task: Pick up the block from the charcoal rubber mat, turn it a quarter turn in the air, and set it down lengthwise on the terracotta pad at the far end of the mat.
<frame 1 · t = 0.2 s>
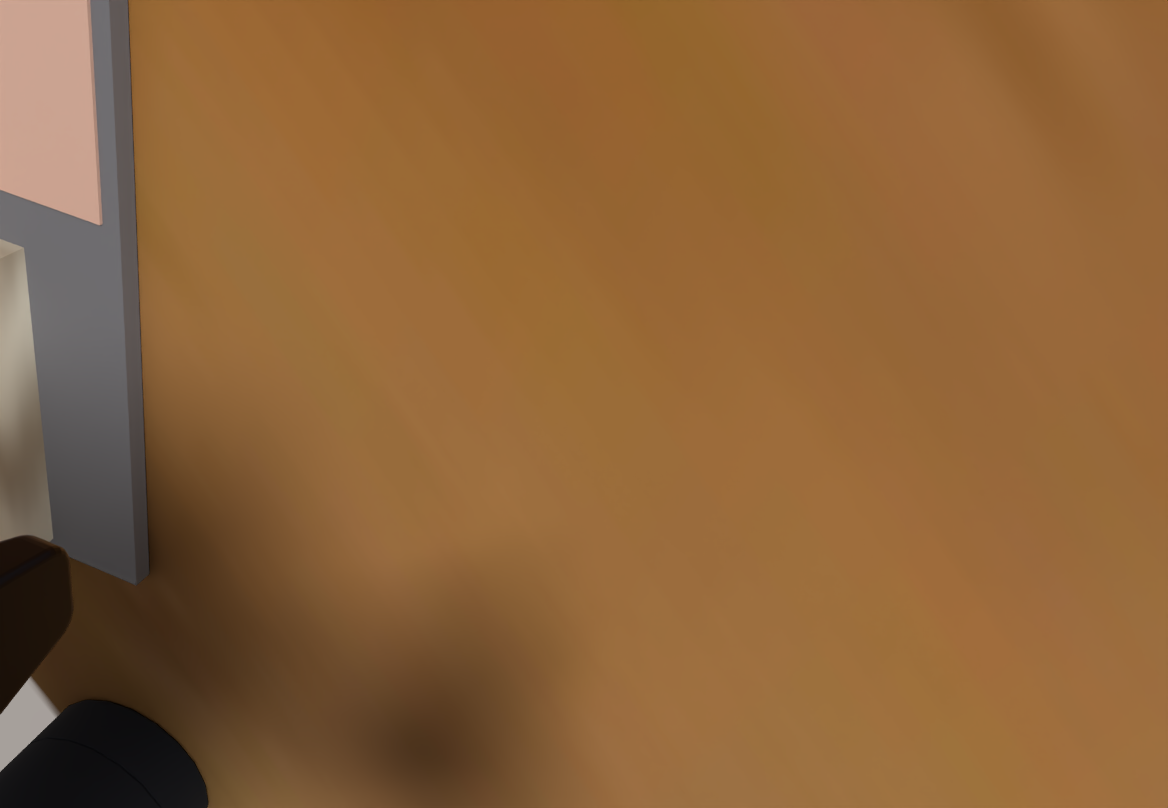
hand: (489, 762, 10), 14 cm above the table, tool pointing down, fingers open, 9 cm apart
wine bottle: (137, 762, 39), on the table
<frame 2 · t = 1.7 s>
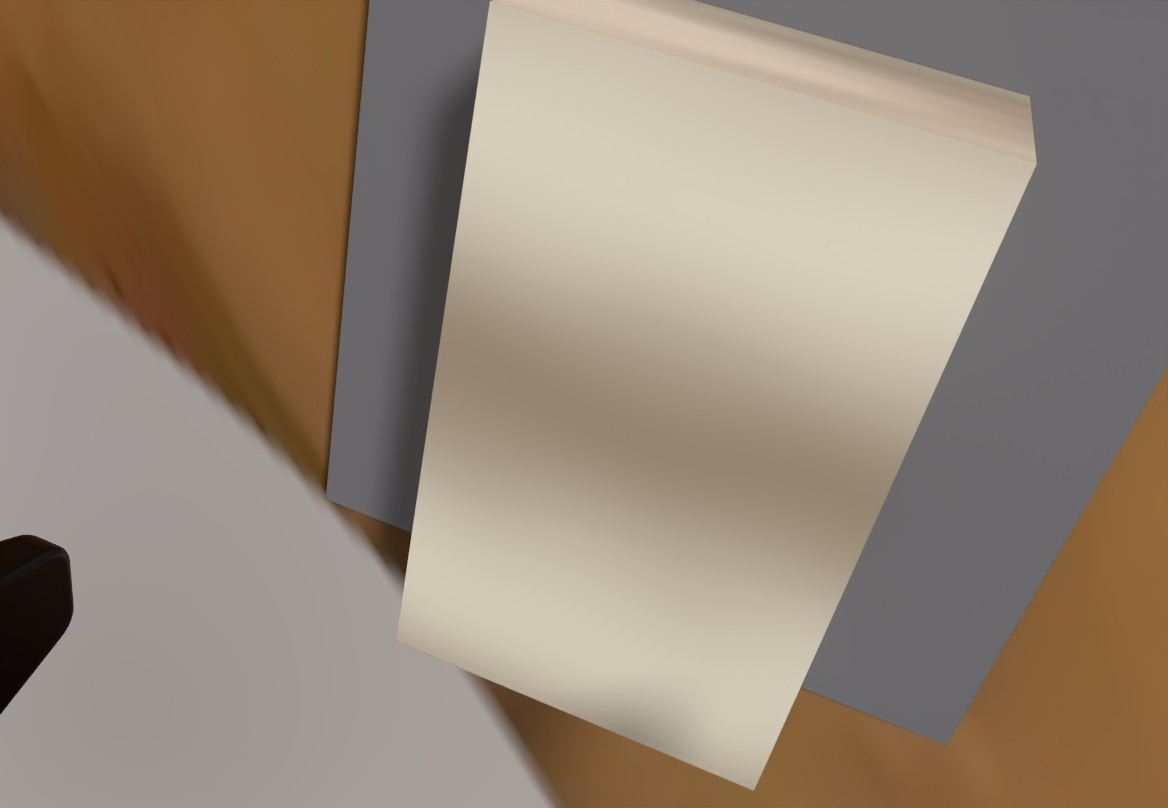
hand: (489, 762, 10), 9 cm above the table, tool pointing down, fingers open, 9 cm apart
mat: (802, 21, 14), on the table
block: (696, 358, 16), point 1 cm above the table, touching mat
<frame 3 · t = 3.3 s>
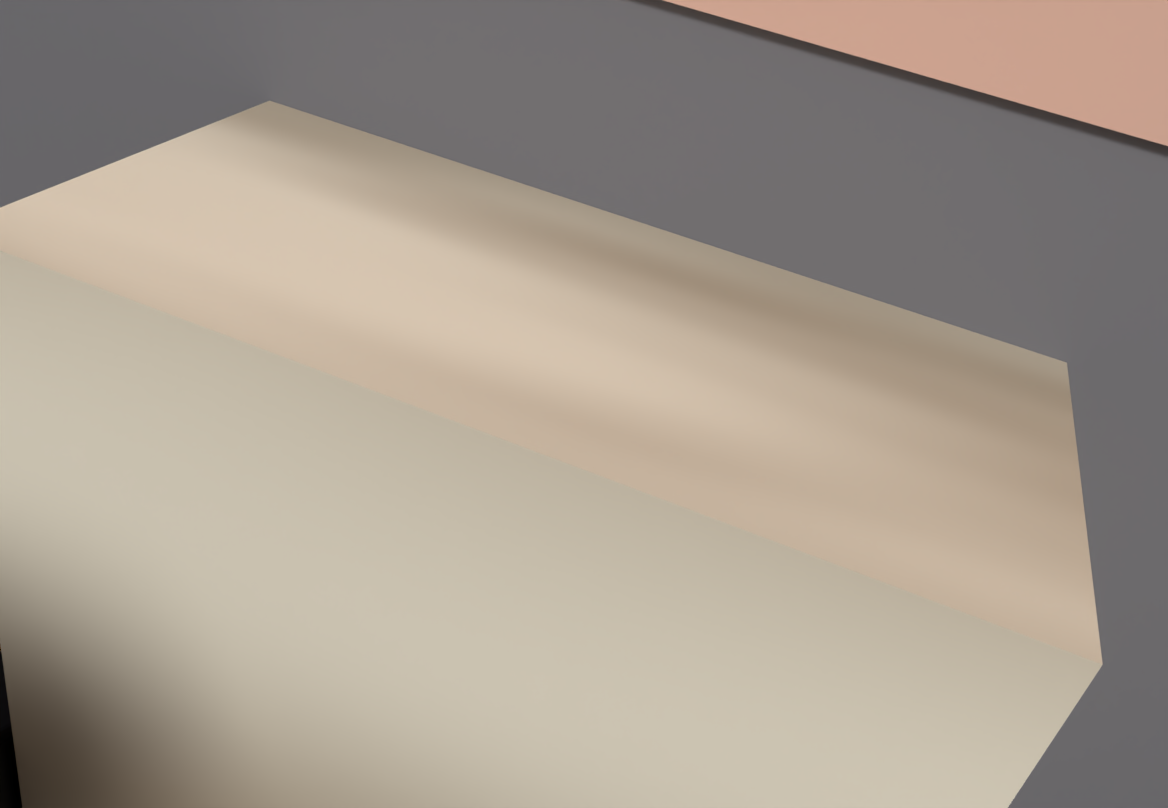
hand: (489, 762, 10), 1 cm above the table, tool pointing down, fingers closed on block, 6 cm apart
mat: (662, 197, 8), on the table
block: (522, 699, 10), point 1 cm above the table, touching gripper, mat
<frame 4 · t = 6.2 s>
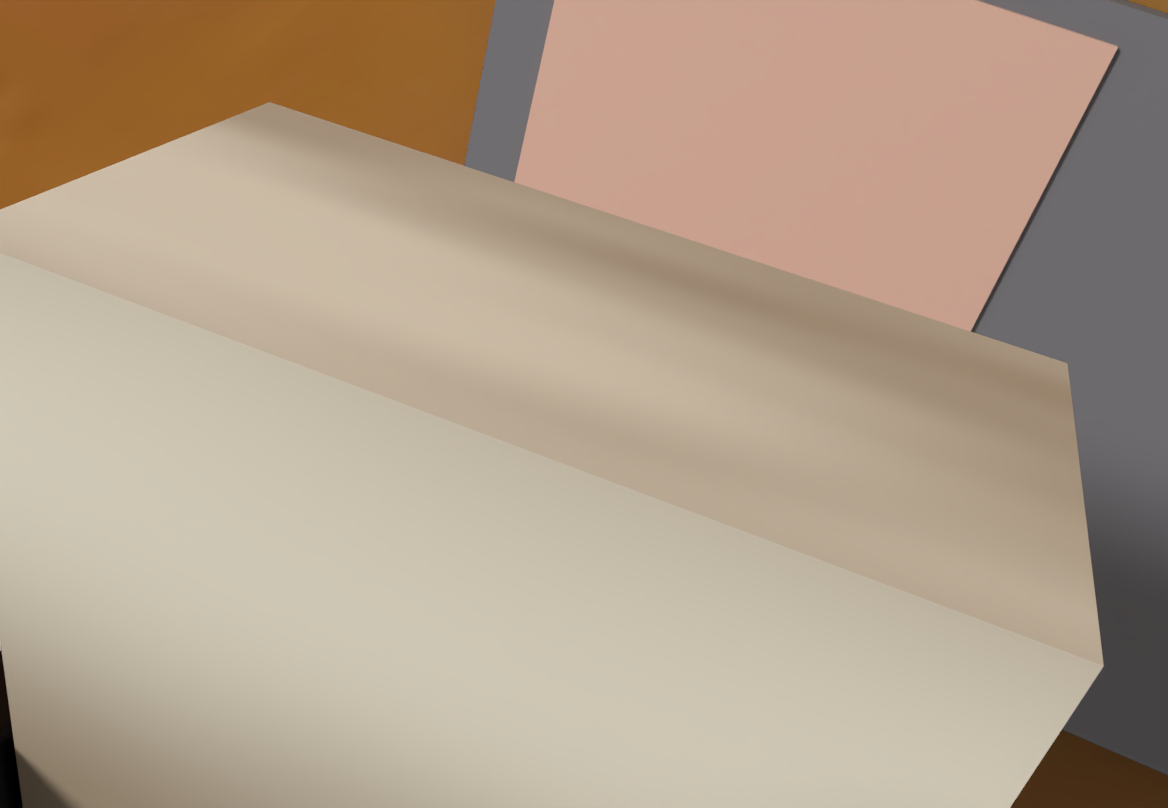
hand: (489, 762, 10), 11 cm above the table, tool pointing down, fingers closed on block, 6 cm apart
mat: (1035, 391, 18), on the table
block: (523, 700, 10), point 10 cm above the table, touching gripper
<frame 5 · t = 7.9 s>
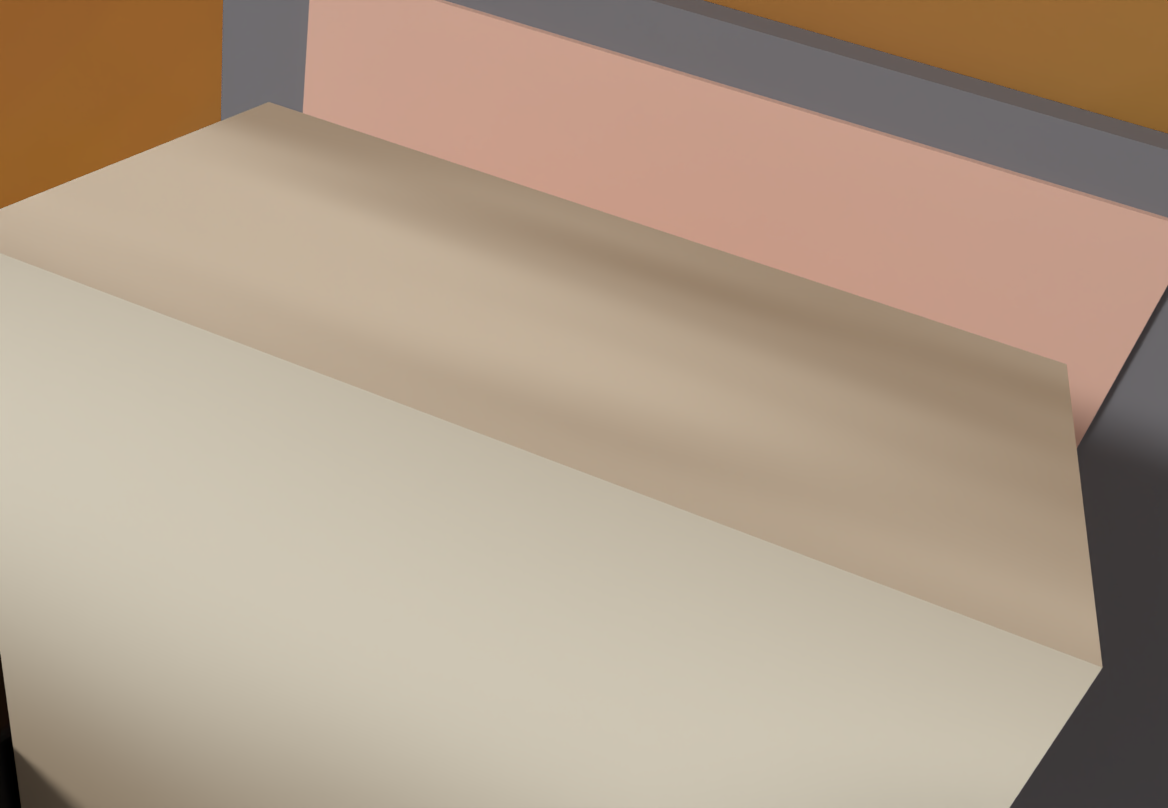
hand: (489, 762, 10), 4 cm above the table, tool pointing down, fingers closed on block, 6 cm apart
mat: (1075, 705, 12), on the table
block: (521, 700, 10), point 3 cm above the table, touching gripper
when the fingers open (3 cm above the table, at t = 9.1 s): block drops 1 cm, resting on mat.
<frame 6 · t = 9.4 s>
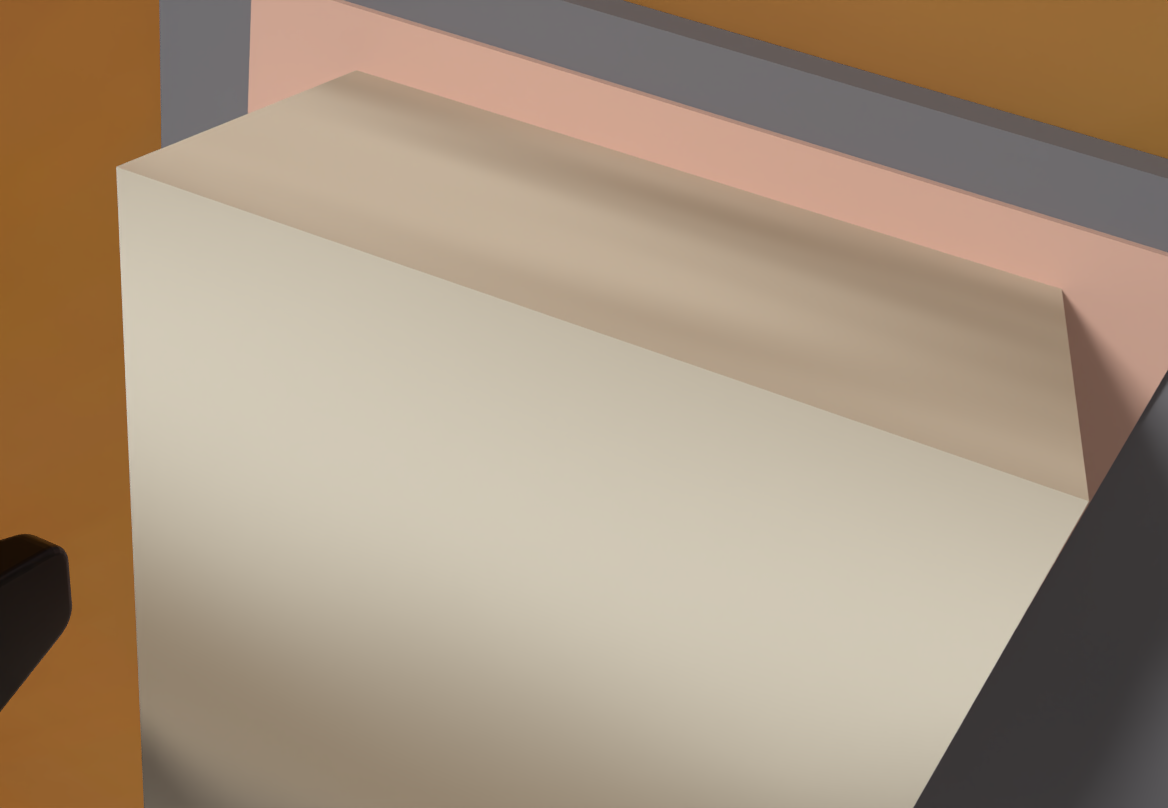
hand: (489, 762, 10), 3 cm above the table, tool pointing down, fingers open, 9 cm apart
mat: (1083, 772, 11), on the table
block: (571, 617, 11), point 1 cm above the table, touching mat
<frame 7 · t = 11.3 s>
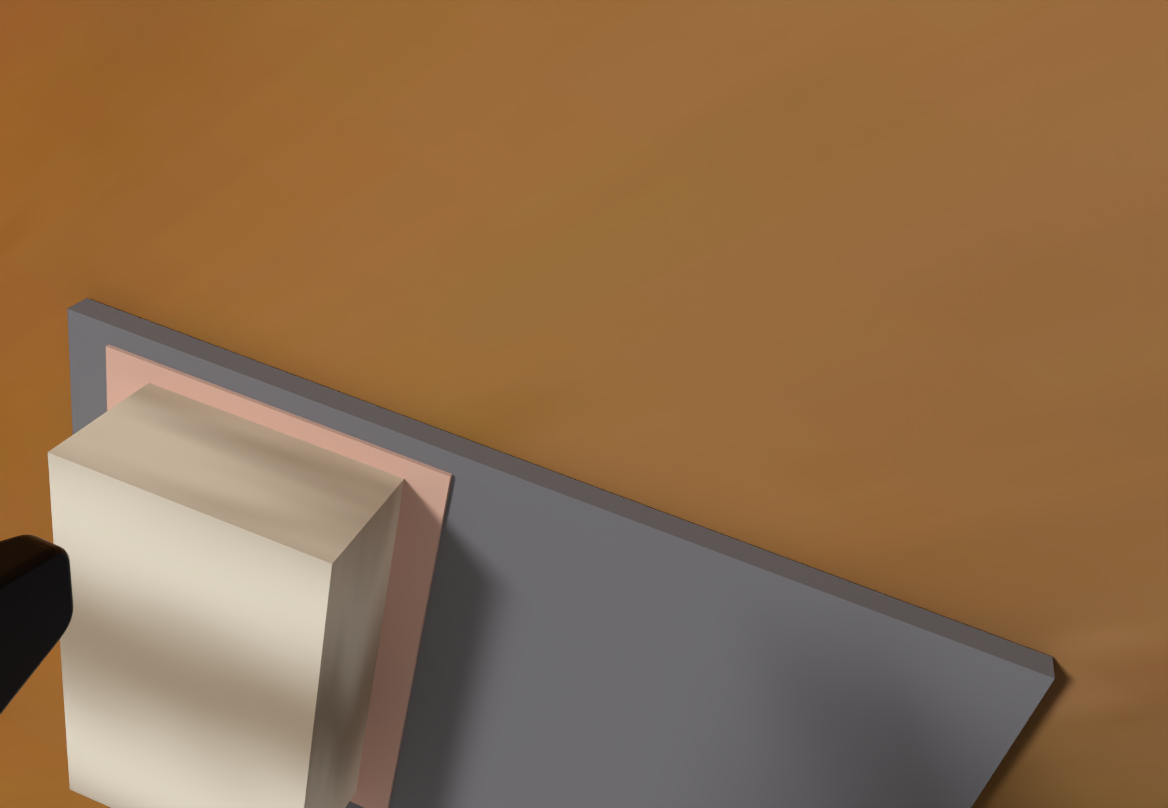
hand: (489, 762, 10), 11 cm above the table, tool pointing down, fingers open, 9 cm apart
mat: (485, 670, 25), on the table
block: (261, 604, 25), point 1 cm above the table, touching mat
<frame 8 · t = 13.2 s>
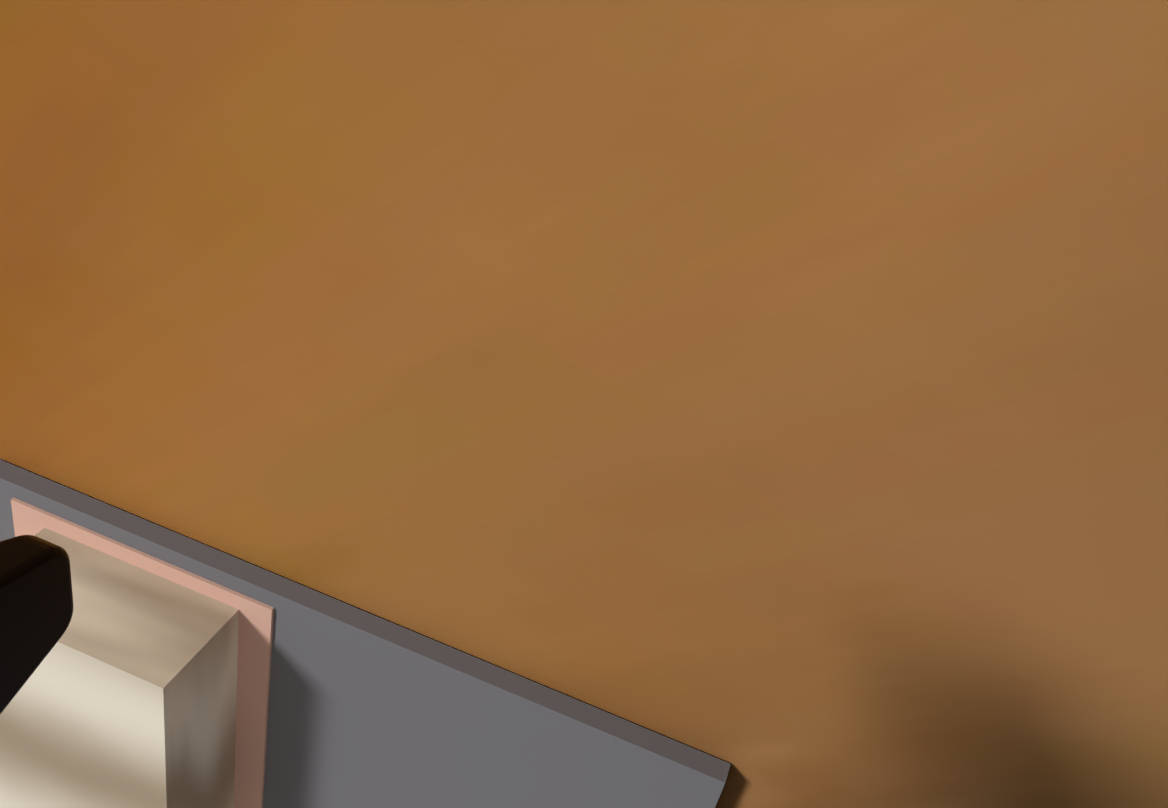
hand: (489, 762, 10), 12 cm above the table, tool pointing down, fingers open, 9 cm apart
mat: (323, 753, 30), on the table
block: (145, 696, 31), point 1 cm above the table, touching mat
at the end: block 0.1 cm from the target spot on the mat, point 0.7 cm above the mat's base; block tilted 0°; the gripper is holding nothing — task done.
